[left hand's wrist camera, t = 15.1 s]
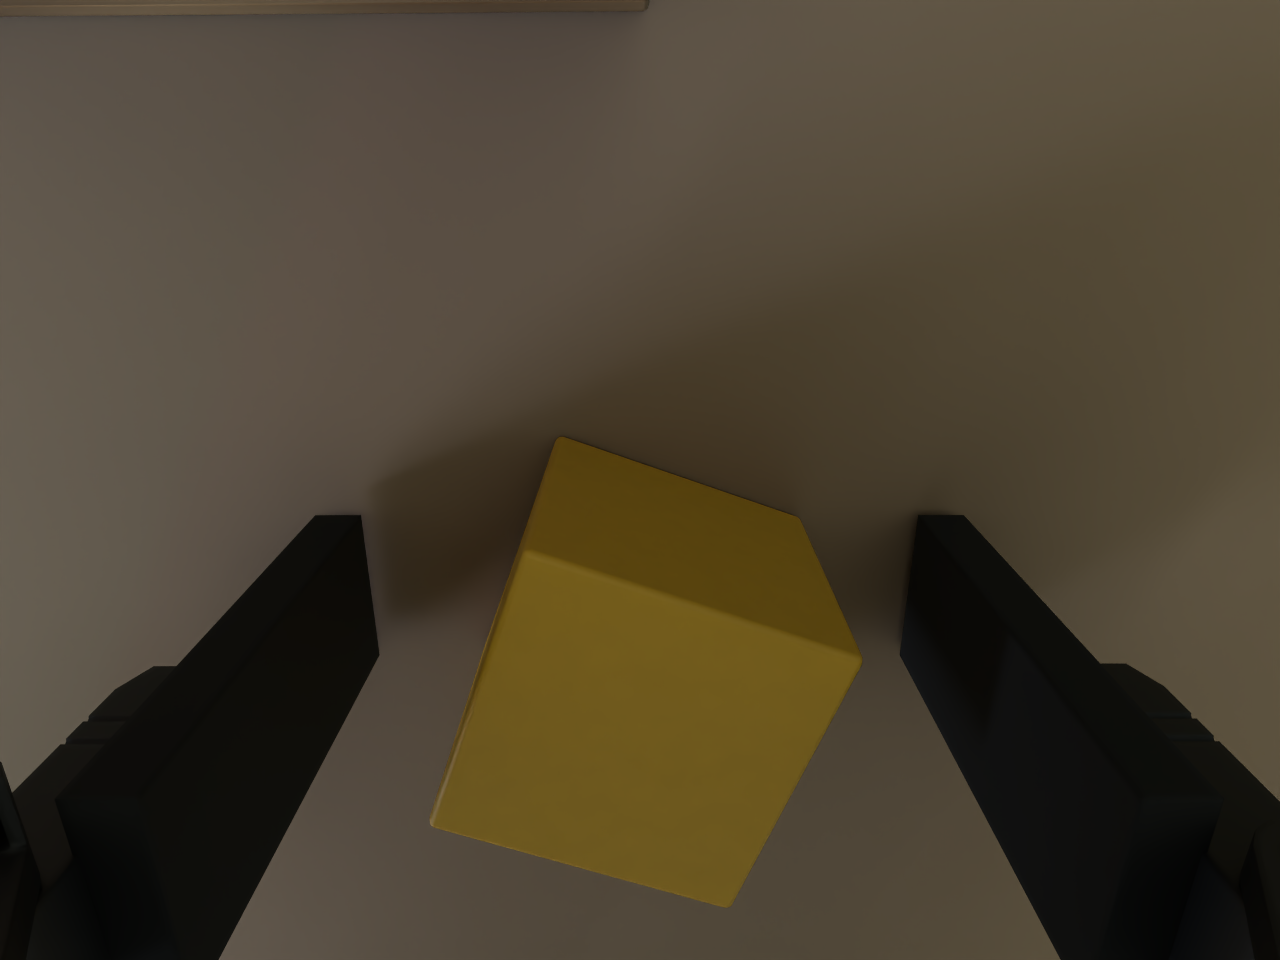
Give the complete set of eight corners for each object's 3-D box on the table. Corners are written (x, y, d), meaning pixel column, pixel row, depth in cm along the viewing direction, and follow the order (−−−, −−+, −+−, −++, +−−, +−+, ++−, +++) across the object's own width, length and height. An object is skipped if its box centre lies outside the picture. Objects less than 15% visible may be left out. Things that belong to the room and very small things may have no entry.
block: (801, 516, 14) (867, 660, 10) (706, 715, 15) (730, 913, 11) (558, 432, 13) (522, 549, 9) (484, 647, 15) (425, 828, 11)
